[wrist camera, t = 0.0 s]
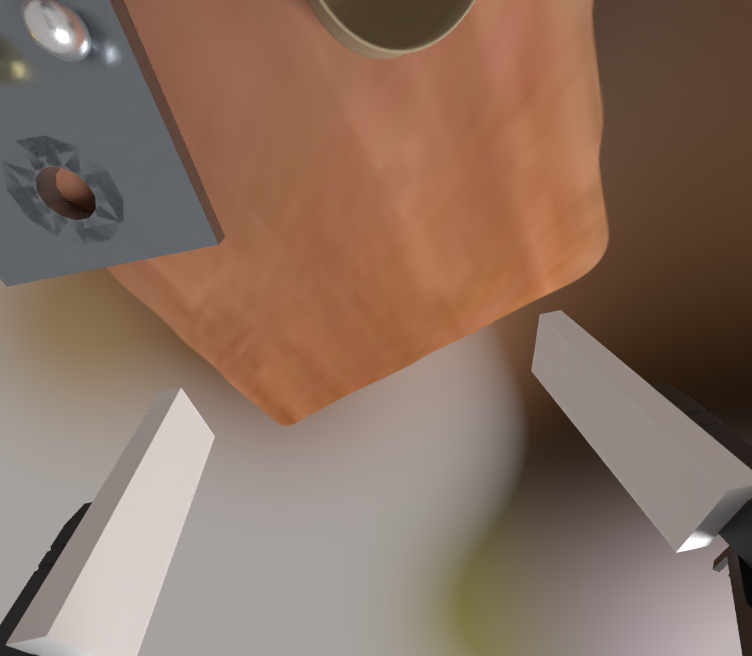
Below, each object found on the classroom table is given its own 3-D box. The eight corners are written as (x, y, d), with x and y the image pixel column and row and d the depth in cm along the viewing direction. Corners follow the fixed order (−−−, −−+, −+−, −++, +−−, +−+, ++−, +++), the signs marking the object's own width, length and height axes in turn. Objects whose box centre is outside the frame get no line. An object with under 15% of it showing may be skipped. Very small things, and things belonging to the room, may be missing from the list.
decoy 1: (33, 6, 23) (-10, -10, 20) (82, -3, 23) (46, -20, 20) (66, 68, 25) (32, 62, 22) (111, 60, 25) (83, 52, 22)
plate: (-243, -44, 22) (-302, -60, 20) (79, -102, 22) (54, -124, 20) (26, 276, 35) (7, 286, 33) (224, 237, 36) (218, 244, 34)
